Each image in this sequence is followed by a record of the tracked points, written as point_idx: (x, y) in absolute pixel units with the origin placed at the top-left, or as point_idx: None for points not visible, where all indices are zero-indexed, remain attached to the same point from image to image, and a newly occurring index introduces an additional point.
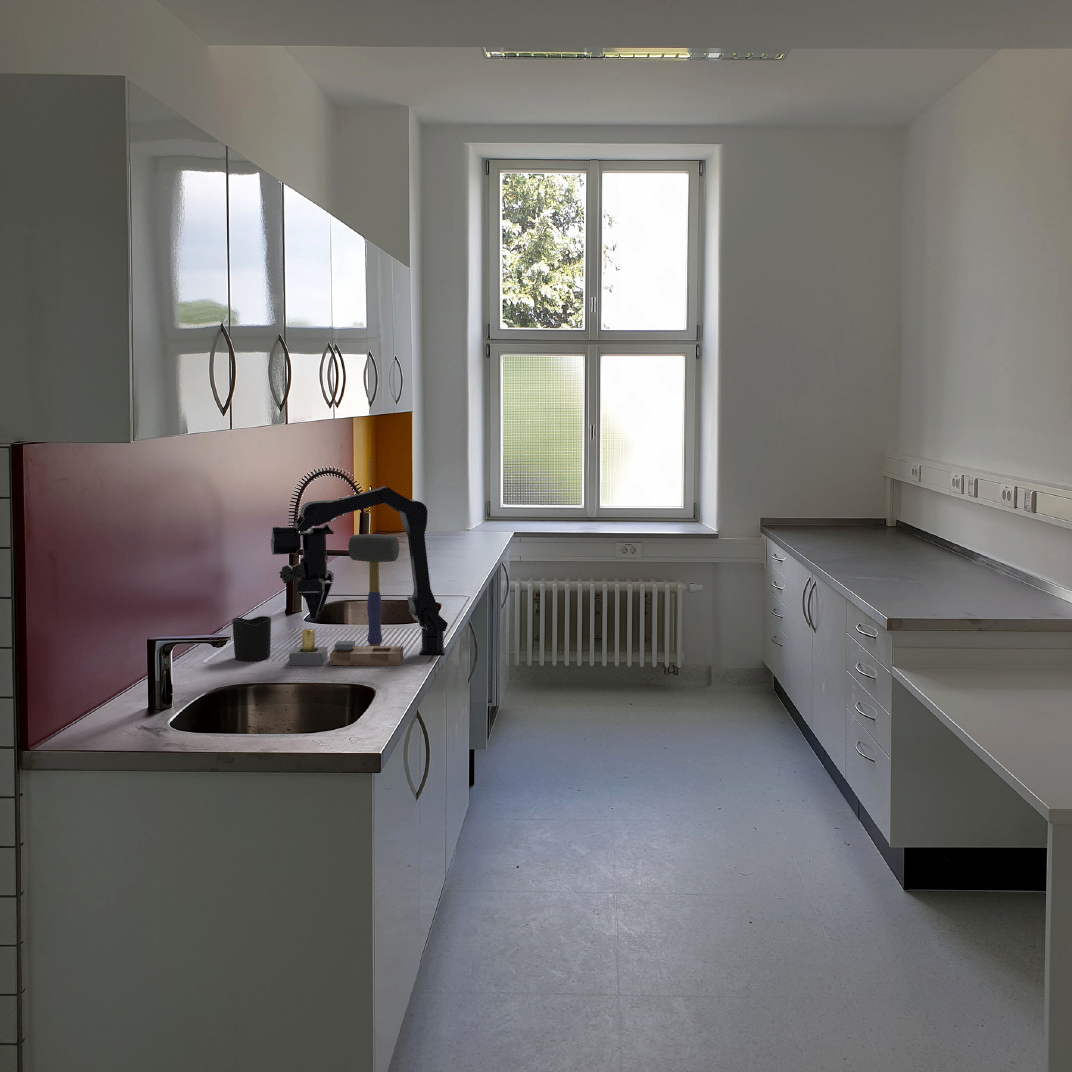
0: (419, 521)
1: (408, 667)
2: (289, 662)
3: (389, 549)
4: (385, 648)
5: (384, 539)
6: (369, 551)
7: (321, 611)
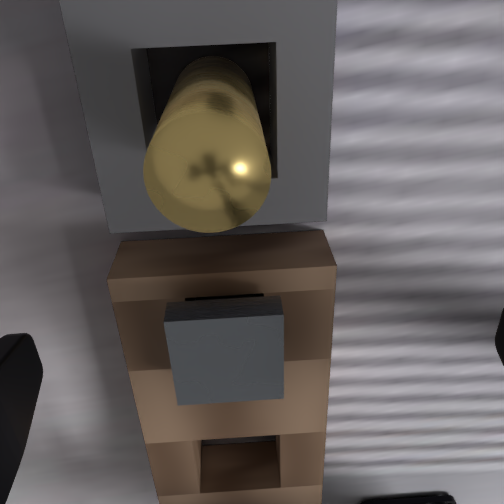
0: None
1: (146, 499)
2: None
3: None
4: (280, 469)
5: None
6: None
7: (495, 345)
